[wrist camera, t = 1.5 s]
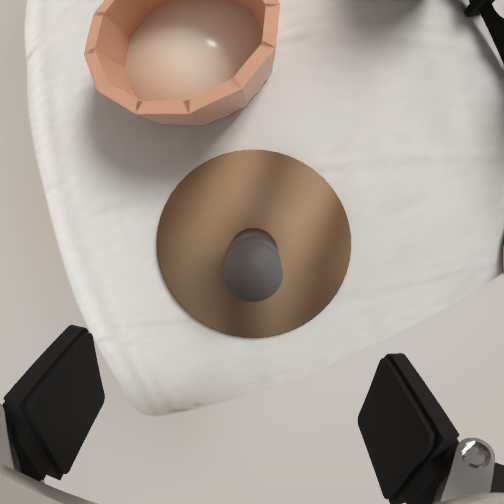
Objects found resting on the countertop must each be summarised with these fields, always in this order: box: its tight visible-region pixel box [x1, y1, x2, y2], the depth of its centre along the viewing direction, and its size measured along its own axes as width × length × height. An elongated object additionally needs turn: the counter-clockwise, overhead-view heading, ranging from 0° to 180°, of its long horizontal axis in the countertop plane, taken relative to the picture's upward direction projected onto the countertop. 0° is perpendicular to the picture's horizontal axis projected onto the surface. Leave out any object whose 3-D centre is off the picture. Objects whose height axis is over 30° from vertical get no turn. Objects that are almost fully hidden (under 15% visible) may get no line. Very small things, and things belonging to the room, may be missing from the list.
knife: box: [464, 0, 504, 63], centre depth 16 cm, size 31×3×4 cm, turn 28°
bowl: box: [84, 0, 280, 125], centre depth 17 cm, size 12×12×6 cm
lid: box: [157, 150, 351, 338], centre depth 21 cm, size 15×15×6 cm
